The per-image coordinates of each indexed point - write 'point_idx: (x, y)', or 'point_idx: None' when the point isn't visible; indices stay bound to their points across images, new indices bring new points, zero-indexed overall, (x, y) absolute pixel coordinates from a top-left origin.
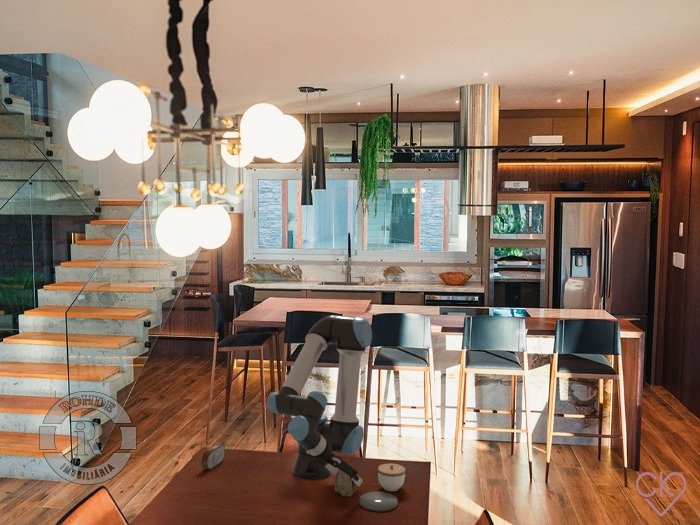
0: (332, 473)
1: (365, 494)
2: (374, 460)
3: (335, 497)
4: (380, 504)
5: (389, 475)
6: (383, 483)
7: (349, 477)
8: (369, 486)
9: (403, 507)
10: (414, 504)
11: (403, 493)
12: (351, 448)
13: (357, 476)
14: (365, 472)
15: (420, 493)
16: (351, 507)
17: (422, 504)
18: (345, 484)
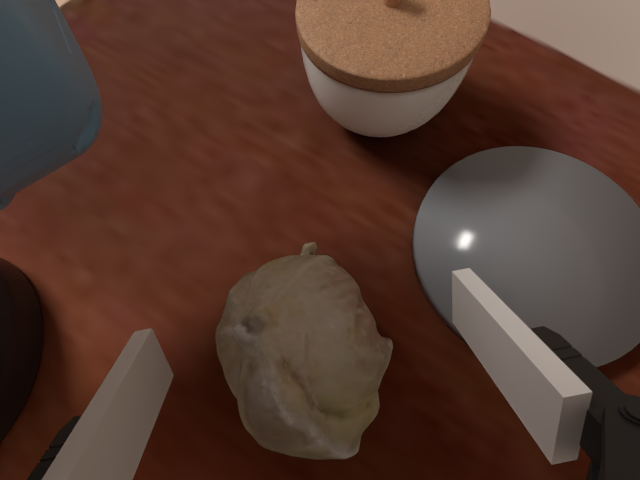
0: (160, 405)
1: (433, 273)
2: (70, 18)
3: None
4: (607, 272)
5: (467, 63)
6: (409, 126)
7: (548, 455)
8: (304, 180)
9: (624, 169)
10: (603, 109)
11: (461, 89)
12: (75, 96)
13: (582, 361)
14: (148, 111)
15: (492, 32)
16: (530, 444)
17: (614, 81)
18: (378, 397)
